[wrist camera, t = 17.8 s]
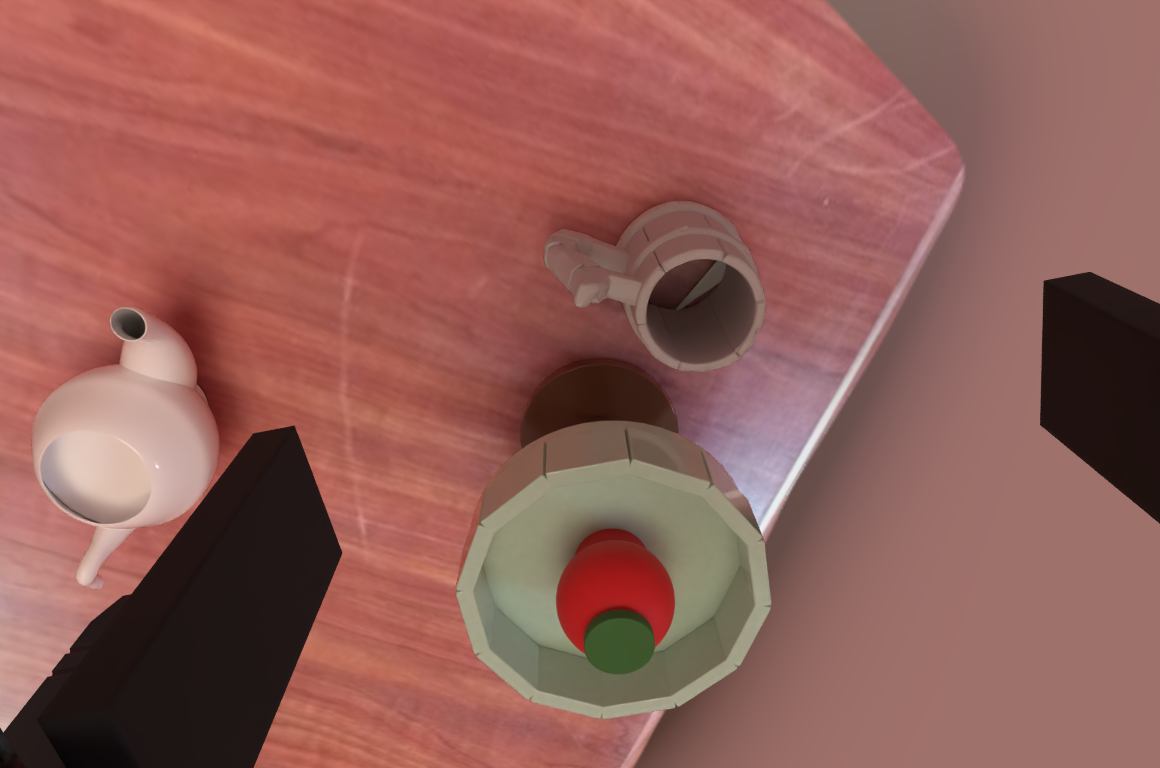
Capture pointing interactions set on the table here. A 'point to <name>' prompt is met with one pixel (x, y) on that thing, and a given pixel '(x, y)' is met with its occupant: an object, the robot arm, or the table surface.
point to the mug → (641, 261)
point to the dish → (610, 501)
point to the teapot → (127, 439)
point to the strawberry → (615, 601)
